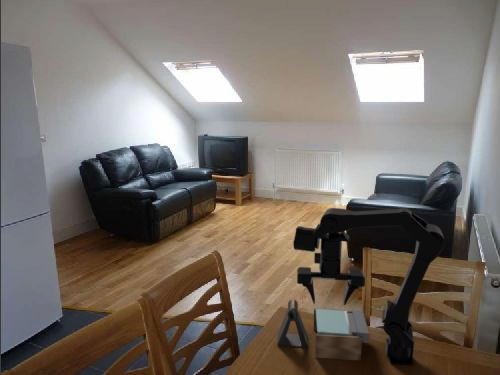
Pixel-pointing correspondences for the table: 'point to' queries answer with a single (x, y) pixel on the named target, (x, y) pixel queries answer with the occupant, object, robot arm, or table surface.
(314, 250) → the robot arm
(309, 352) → the table surface
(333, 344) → the trapdoor frame
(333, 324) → the trapdoor
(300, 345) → the phone stand
